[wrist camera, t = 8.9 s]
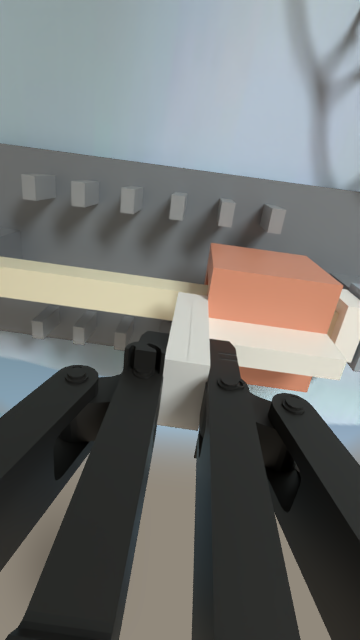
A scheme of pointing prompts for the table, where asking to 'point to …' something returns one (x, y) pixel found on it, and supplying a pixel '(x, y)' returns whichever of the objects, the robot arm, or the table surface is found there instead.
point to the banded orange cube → (274, 315)
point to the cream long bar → (145, 296)
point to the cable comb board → (153, 230)
